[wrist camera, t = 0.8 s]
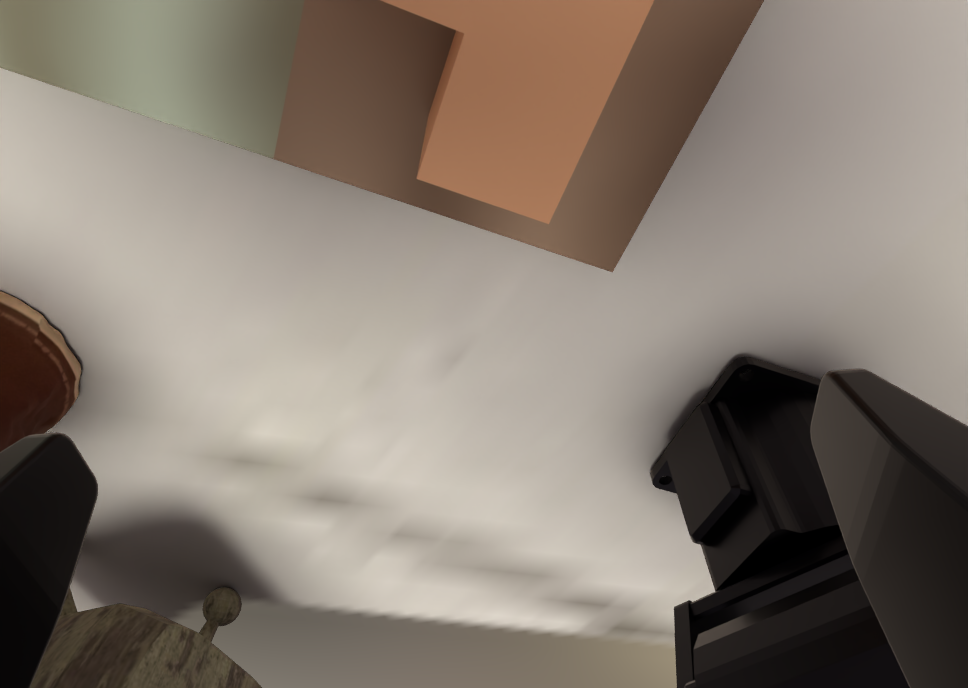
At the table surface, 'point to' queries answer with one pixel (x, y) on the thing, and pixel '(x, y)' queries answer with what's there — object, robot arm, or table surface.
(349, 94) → the board
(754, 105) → the table surface
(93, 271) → the table surface
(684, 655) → the robot arm
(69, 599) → the tabletop clock
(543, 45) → the tee block
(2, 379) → the coffee cup
